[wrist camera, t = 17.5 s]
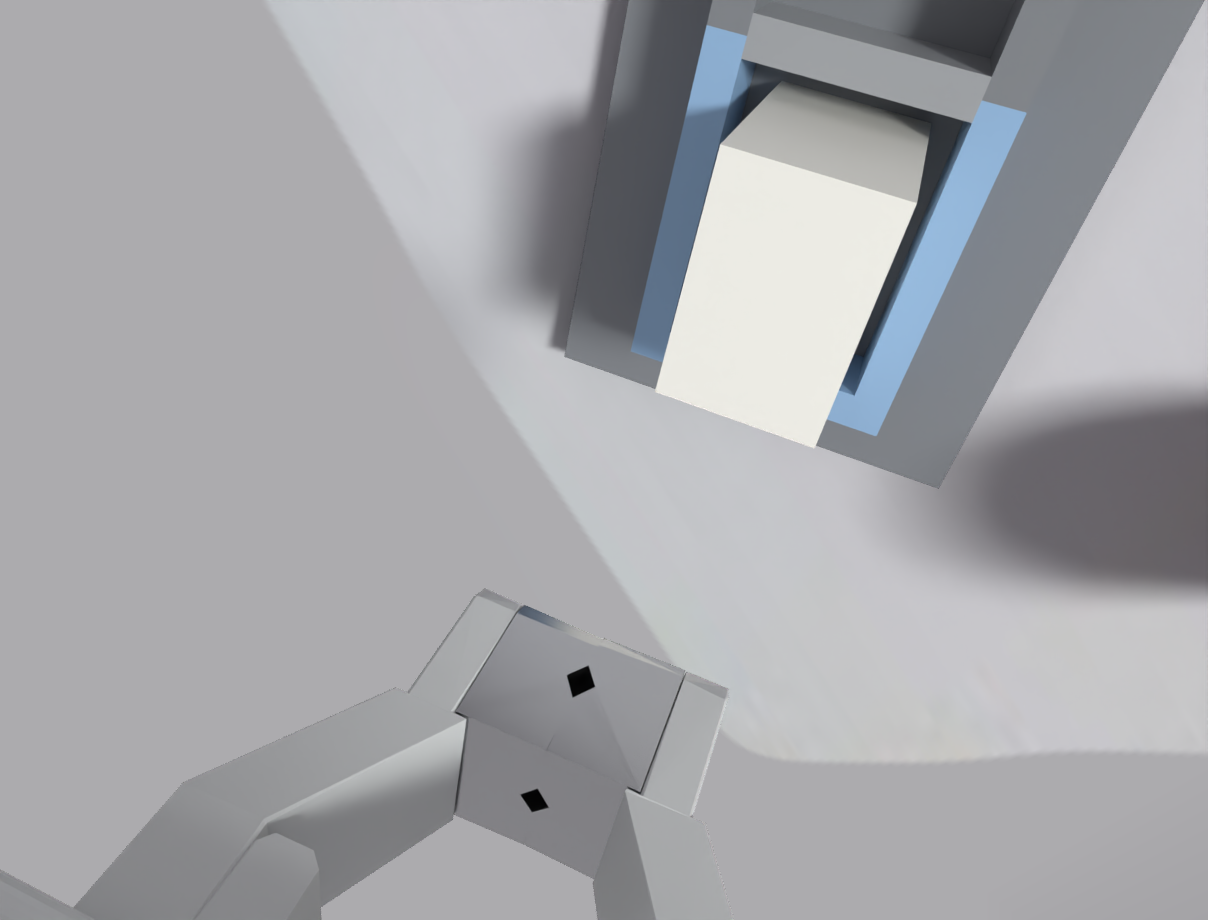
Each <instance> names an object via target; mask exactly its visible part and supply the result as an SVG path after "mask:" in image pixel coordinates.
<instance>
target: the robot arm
mask: <svg viewBox="0 0 1208 920" xmlns="http://www.w3.org/2000/svg"><path fill="white" fill-rule="evenodd" d="M684 673H685V670H683V669H681V668H678V667H676V666H673V665H671V664H668V663H666V662H663V661H661V660H658V659H655V658H653V657H650V656H648V655H645V654H643V653H640V652H638V651H635V650H632V649H630V648H628V647H625V646H622V645H620V644H618V643H615V642H612V641H610V640H607V639H605V638H604V639H601V638H599V637H596V636H594V635H592V634H589V633H587V632H585V631H583V630H580V629H578V628H576V627H574V626H571V625H569V624H567V623H565V622H562V621H560V620H558V619H555V618H553V617H551V616H549V615H546V614H544V613H542V612H539V611H537V610H535V609H533V608H530V607H528V606H526V605H523V604H521V603H518V602H516V601H513V600H511V599H509V598H506V597H504V596H502V595H499V594H497V593H495V592H492V591H490V590H488V589H483V590H482V591H481V592H480V593H478V594H477V595H476V596H474V597H473V599H472V600H471V602H470V603H469V605H468V606H467V607H466V609H465V610H464V612H463V613H462V615H461V617H460V618H459V619H458V620H457V622H456V623H455V625H454V626H453V628H452V629H451V631H450V632H449V633H448V635H447V636H446V638H445V639H444V640H443V642H442V643H441V645H440V646H439V648H438V649H437V651H436V652H435V653H434V655H433V656H432V658H431V659H430V661H429V662H428V663H427V665H426V667H425V668H424V669H423V671H422V672H421V673H420V675H419V676H418V678H417V679H416V681H415V682H414V684H413V685H412V687H411V688H410V690H409V691H408V692H406V691H403V690H401V689H398V688H396V687H395V688H393V689H391V690H389V691H387V692H384V693H382V694H380V695H377V696H375V697H373V698H371V699H369V700H366V701H364V702H362V703H359V704H357V705H355V706H353V707H351V708H348V709H346V710H344V711H342V712H339V713H337V714H335V715H333V716H330V717H328V718H326V719H324V720H321V721H319V722H317V723H315V724H313V725H310V726H308V727H306V728H304V729H301V730H299V731H297V732H295V733H293V734H291V735H288V736H286V737H283V738H281V739H279V740H277V741H275V742H272V743H270V744H268V745H266V746H263V747H261V748H259V749H257V750H254V751H252V752H250V753H248V754H245V755H243V756H241V757H239V758H237V759H234V760H232V761H230V762H228V763H225V764H223V765H221V766H219V767H216V768H214V769H212V770H210V771H207V772H205V773H203V774H201V775H198V776H196V777H194V778H192V779H190V780H188V781H185V782H183V783H182V785H180V787H179V788H178V789H177V790H176V791H175V792H174V793H173V795H172V796H171V797H170V798H169V799H168V800H167V801H166V803H165V804H164V805H163V806H162V807H161V809H159V811H158V812H157V813H156V814H155V815H154V816H153V817H152V819H151V820H150V821H149V822H148V823H147V824H146V825H145V827H144V828H143V829H142V830H141V831H140V832H139V833H138V835H137V836H136V837H135V838H134V839H133V840H132V841H131V843H130V844H129V845H128V846H127V847H126V848H125V849H124V850H123V852H122V853H121V854H120V855H119V856H118V857H117V858H116V860H115V861H114V862H113V863H112V864H111V865H110V867H109V868H108V869H107V870H106V871H105V872H104V873H103V875H102V876H101V877H100V878H99V879H98V880H97V881H96V882H95V884H94V885H93V886H92V887H91V888H90V889H89V890H88V892H87V893H86V894H85V895H84V896H83V897H82V898H81V900H80V901H79V902H78V903H77V904H76V905H75V906H74V908H73V907H71V906H69V905H67V904H65V903H63V902H61V901H59V900H57V899H55V898H54V897H52V896H50V895H48V894H46V893H44V892H42V891H40V890H38V889H36V888H34V887H33V886H31V885H29V884H27V883H25V882H23V881H21V880H19V879H17V878H15V877H14V876H12V875H10V874H8V873H6V872H4V871H2V870H0V920H321V907H322V906H323V905H325V904H326V903H328V902H329V901H331V900H332V899H334V898H335V897H337V896H339V895H340V894H341V893H343V892H345V891H346V890H347V889H349V888H351V887H352V886H354V885H355V884H357V883H358V882H360V881H361V880H363V879H364V878H366V877H367V876H369V875H370V874H372V873H373V872H375V871H376V870H378V869H379V868H381V867H382V866H383V865H385V864H387V863H388V862H390V861H391V860H393V859H394V858H396V857H397V856H399V855H400V854H402V853H403V852H405V851H406V850H408V849H409V848H411V847H412V846H414V845H415V844H417V843H418V842H420V841H421V840H423V839H424V838H426V837H427V836H429V835H430V834H432V833H433V832H435V831H436V830H438V829H439V828H441V827H443V826H444V825H446V824H447V823H449V822H450V821H452V820H453V814H454V815H456V816H458V817H461V818H463V819H465V820H468V821H470V822H473V823H475V824H477V825H480V826H482V827H484V828H486V829H489V830H491V831H494V832H496V833H498V834H501V835H503V836H505V837H508V838H510V839H513V840H515V841H517V842H519V843H522V844H525V845H526V846H528V847H530V848H532V849H534V850H536V851H538V852H540V853H542V854H544V855H546V856H548V857H550V858H552V859H554V860H556V861H558V862H560V863H562V864H564V865H566V866H568V867H570V868H573V869H574V870H577V871H579V872H581V873H583V874H585V875H587V876H589V877H591V878H593V879H594V881H593V889H594V896H595V903H596V911H597V918H598V920H734V918H733V915H732V911H731V908H730V905H729V901H728V898H727V894H726V891H725V888H724V884H723V881H722V878H721V874H720V871H719V868H718V864H717V861H716V858H715V854H714V850H713V847H712V844H711V841H710V837H709V834H708V830H707V827H706V824H705V823H703V822H701V821H699V820H697V819H695V818H693V813H694V810H695V807H696V803H697V800H698V797H699V794H700V790H701V787H702V784H703V781H704V777H705V774H706V771H707V767H708V764H709V760H710V758H711V754H712V751H713V748H714V744H715V741H716V738H717V735H718V731H719V728H720V725H721V721H722V718H723V715H724V712H725V708H726V705H727V702H728V698H729V689H728V688H725V687H723V686H721V685H718V684H716V683H713V682H711V681H708V680H706V679H703V678H701V677H698V676H696V675H694V674H691V673H689V672H686V673H685V675H684ZM683 676H684V677H683ZM682 679H683V680H682ZM678 690H679V691H678ZM675 698H676V699H675Z"/></svg>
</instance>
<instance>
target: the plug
mask: <svg viewBox="0 0 1208 920" xmlns="http://www.w3.org/2000/svg"><path fill="white" fill-rule="evenodd" d="M930 129H931V123H929V122H925V121H921V120H918V119H914V118H911V117H907V116H904V115H900V114H897V113H893V112H890V111H886V110H883V109H879V108H876V107H872V106H869V105H865V104H862V103H858V102H854V101H851V100H847V99H844V98H840V97H837V96H833V95H830V94H826V93H823V92H819V91H816V90H812V89H809V88H805V87H802V86H798V85H794V84H791V83H787V82H784V81H781V82H780V83H779V84H778V85H777V86H776V87H775V88H774V89H773V90H772V91H771V92H770V93H769V94H768V95H767V97H766V98H765V99H764V100H763V101H762V102H761V103H760V104H759V105H758V106H757V107H756V108H755V109H754V110H753V111H752V112H751V113H750V114H749V115H748V116H747V117H746V118H745V119H744V120H743V121H742V122H741V123H740V124H739V125H738V126H737V127H736V129H735V130H734V131H733V132H732V133H731V134H730V135H729V136H728V137H727V138H726V139H725V140H724V141H723V142H722V143H721V144H720V147H719V151H718V155H717V159H716V162H715V166H714V170H713V174H712V178H711V181H710V185H709V189H708V193H707V197H706V200H705V204H704V208H703V212H702V215H701V219H700V223H699V227H698V231H697V234H696V238H695V242H694V246H693V250H692V253H691V257H690V261H689V265H688V269H687V272H686V276H685V280H684V284H683V288H682V291H681V295H680V299H679V303H678V306H677V310H676V314H675V318H674V322H673V325H672V329H671V333H670V337H669V341H668V344H667V348H666V352H665V356H664V360H663V363H662V367H661V371H660V375H659V378H658V382H657V386H656V390H655V392H657V393H660V394H662V395H665V396H668V397H671V398H674V399H676V400H679V401H682V402H685V403H688V404H691V405H693V406H696V407H699V408H702V409H705V410H707V411H710V412H713V413H716V414H719V415H722V416H724V417H727V418H730V419H733V420H736V421H738V422H741V423H744V424H747V425H750V426H752V427H755V428H758V429H761V430H764V431H767V432H769V433H772V434H775V435H778V436H781V437H783V438H786V439H789V440H792V441H795V442H798V443H800V444H803V445H806V446H809V447H812V448H814V449H815V446H816V444H817V441H818V439H819V437H820V434H821V432H822V429H823V427H824V425H825V422H826V420H827V417H828V415H829V413H830V410H831V408H832V405H833V403H834V401H835V398H836V396H837V393H838V391H839V389H840V386H841V384H842V382H843V379H844V377H845V374H846V372H847V370H848V367H849V365H850V362H851V360H852V358H853V355H854V353H855V350H856V348H857V346H858V343H859V341H860V338H861V336H862V334H863V331H864V329H865V327H866V324H867V322H868V319H869V317H870V315H871V312H872V310H873V307H874V305H875V303H876V300H877V298H878V295H879V293H880V291H881V288H882V286H883V283H884V281H885V279H886V276H887V274H888V272H889V269H890V267H891V264H892V262H893V260H894V257H895V255H896V252H897V250H898V248H899V245H900V243H901V240H902V238H903V236H904V233H905V231H906V228H907V226H908V224H909V221H910V219H911V217H912V214H913V212H914V209H915V207H916V205H917V201H918V195H919V190H920V184H921V179H922V173H923V167H924V162H925V156H926V151H927V145H928V140H929V134H930Z"/></svg>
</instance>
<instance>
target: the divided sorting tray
mask: <svg viewBox="0 0 1208 920" xmlns="http://www.w3.org/2000/svg"><path fill="white" fill-rule="evenodd" d="M1203 2H1204V0H629V1H628V7H627V12H626V18H625V23H624V29H623V34H622V40H621V46H620V51H619V57H618V62H617V68H616V73H615V79H614V84H613V90H612V96H611V101H610V107H609V112H608V118H607V123H606V129H605V134H604V140H603V145H602V151H601V157H600V162H599V168H598V173H597V179H596V184H595V190H594V195H593V201H592V207H591V212H590V218H589V223H588V229H587V234H586V240H585V245H584V251H583V257H582V262H581V268H580V273H579V279H578V284H577V290H576V295H575V301H574V307H573V312H572V318H571V323H570V329H569V334H568V340H567V345H566V351H565V357H567V358H569V359H572V360H575V361H578V362H581V363H584V364H586V365H589V366H592V367H595V368H598V369H601V370H603V371H606V372H609V373H612V374H615V375H618V376H620V377H623V378H626V379H629V380H632V381H635V382H637V383H640V384H643V385H646V386H649V387H652V388H654V389H656V386H657V382H658V378H659V375H660V371H661V367H662V363H663V360H664V356H665V352H666V348H667V344H668V341H669V337H670V333H671V329H672V325H673V322H674V318H675V314H676V310H677V306H678V303H679V299H680V295H681V291H682V288H683V284H684V280H685V276H686V272H687V269H688V265H689V261H690V257H691V253H692V250H693V246H694V242H695V238H696V234H697V231H698V227H699V223H700V219H701V215H702V212H703V208H704V204H705V200H706V197H707V193H708V189H709V185H710V181H711V178H712V174H713V170H714V166H715V162H716V159H717V155H718V151H719V147H720V144H721V143H722V142H723V141H724V140H725V139H726V138H727V137H728V136H729V135H730V134H731V133H732V132H733V131H734V130H735V129H736V127H737V126H738V125H739V124H740V123H741V122H742V121H743V120H744V119H745V118H746V117H747V116H748V115H749V114H750V113H751V112H752V111H753V110H754V109H755V108H756V107H757V106H758V105H759V104H760V103H761V102H762V101H763V100H764V99H765V98H766V97H767V95H768V94H769V93H770V92H771V91H772V90H773V89H774V88H775V87H776V86H777V85H778V84H779V83H780V82H781V81H784V82H787V83H791V84H794V85H798V86H802V87H805V88H809V89H812V90H816V91H819V92H823V93H826V94H830V95H833V96H837V97H840V98H844V99H847V100H851V101H854V102H858V103H862V104H865V105H869V106H872V107H876V108H879V109H883V110H886V111H890V112H893V113H897V114H900V115H904V116H907V117H911V118H914V119H918V120H921V121H925V122H929V123H931V129H930V134H929V140H928V145H927V151H926V156H925V162H924V167H923V173H922V179H921V184H920V190H919V195H918V201H917V205H916V207H915V209H914V212H913V214H912V217H911V219H910V221H909V224H908V226H907V228H906V231H905V233H904V236H903V238H902V240H901V243H900V245H899V248H898V250H897V252H896V255H895V257H894V260H893V262H892V264H891V267H890V269H889V272H888V274H887V276H886V279H885V281H884V283H883V286H882V288H881V291H880V293H879V295H878V298H877V300H876V303H875V305H874V307H873V310H872V312H871V315H870V317H869V319H868V322H867V324H866V327H865V329H864V331H863V334H862V336H861V338H860V341H859V343H858V346H857V348H856V350H855V353H854V355H853V358H852V360H851V362H850V365H849V367H848V370H847V372H846V374H845V377H844V379H843V382H842V384H841V386H840V389H839V391H838V393H837V396H836V398H835V401H834V403H833V405H832V408H831V410H830V413H829V415H828V417H827V420H826V422H825V425H824V427H823V429H822V432H821V434H820V437H819V439H818V441H817V444H816V446H819V447H822V448H825V449H827V450H830V451H833V452H836V453H839V454H842V455H845V456H847V457H850V458H853V459H856V460H859V461H862V462H864V463H867V464H870V465H873V466H876V467H879V468H881V469H884V470H887V471H890V472H893V473H896V474H898V475H901V476H904V477H907V478H910V479H913V480H915V481H918V482H921V483H924V484H927V485H930V486H932V487H935V488H938V489H939V487H940V485H941V483H942V482H943V480H944V478H945V476H946V474H947V472H948V471H949V469H950V467H951V465H952V463H953V461H954V460H955V458H956V456H957V454H958V452H959V450H960V449H961V447H962V445H963V443H964V441H965V439H966V438H967V436H968V434H969V432H970V430H971V428H972V427H973V425H974V423H975V421H976V419H977V417H978V416H979V414H980V412H981V410H982V408H983V406H984V404H985V403H986V401H987V399H988V397H989V395H990V393H991V392H992V390H993V388H994V386H995V384H996V382H997V381H998V379H999V377H1000V375H1001V373H1002V371H1003V370H1004V368H1005V366H1006V364H1007V362H1008V360H1009V359H1010V357H1011V355H1012V353H1013V351H1014V349H1015V348H1016V346H1017V344H1018V342H1019V340H1020V338H1021V337H1022V335H1023V333H1024V331H1025V329H1026V327H1027V326H1028V324H1029V322H1030V320H1031V318H1032V316H1033V314H1034V313H1035V311H1036V309H1037V307H1038V305H1039V303H1040V302H1041V300H1042V298H1043V296H1044V294H1045V292H1046V291H1047V289H1048V287H1049V285H1050V283H1051V281H1052V280H1053V278H1054V276H1055V274H1056V272H1057V270H1058V269H1059V267H1060V265H1061V263H1062V261H1063V259H1064V258H1065V256H1066V254H1067V252H1068V250H1069V248H1070V247H1071V245H1072V243H1073V241H1074V239H1075V237H1076V236H1077V234H1078V232H1079V230H1080V228H1081V226H1082V225H1083V223H1084V221H1085V219H1086V217H1087V215H1088V213H1089V212H1090V210H1091V208H1092V206H1093V204H1094V202H1095V201H1096V199H1097V197H1098V195H1099V193H1100V191H1101V190H1102V188H1103V186H1104V184H1105V182H1106V180H1107V179H1108V177H1109V175H1110V173H1111V171H1112V169H1113V168H1114V166H1115V164H1116V162H1117V160H1118V158H1119V157H1120V155H1121V153H1122V151H1123V149H1124V147H1125V146H1126V144H1127V142H1128V140H1129V138H1130V136H1131V135H1132V133H1133V131H1134V129H1135V127H1136V125H1137V123H1138V122H1139V120H1140V118H1141V116H1142V114H1143V112H1144V111H1145V109H1146V107H1147V105H1148V103H1149V101H1150V100H1151V98H1152V96H1153V94H1154V92H1155V90H1156V89H1157V87H1158V85H1159V83H1160V81H1161V79H1162V78H1163V76H1164V74H1165V72H1166V70H1167V68H1168V67H1169V65H1170V63H1171V61H1172V59H1173V57H1174V56H1175V54H1176V52H1177V50H1178V48H1179V46H1180V45H1181V43H1182V41H1183V39H1184V37H1185V35H1186V33H1187V32H1188V30H1189V28H1190V26H1191V24H1192V22H1193V21H1194V19H1195V17H1196V15H1197V13H1198V11H1199V10H1200V8H1201V6H1202V4H1203Z"/></svg>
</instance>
